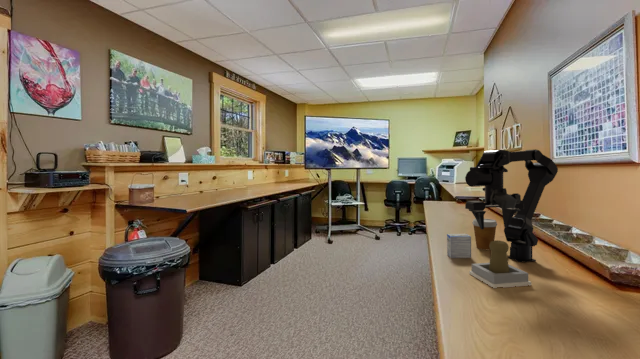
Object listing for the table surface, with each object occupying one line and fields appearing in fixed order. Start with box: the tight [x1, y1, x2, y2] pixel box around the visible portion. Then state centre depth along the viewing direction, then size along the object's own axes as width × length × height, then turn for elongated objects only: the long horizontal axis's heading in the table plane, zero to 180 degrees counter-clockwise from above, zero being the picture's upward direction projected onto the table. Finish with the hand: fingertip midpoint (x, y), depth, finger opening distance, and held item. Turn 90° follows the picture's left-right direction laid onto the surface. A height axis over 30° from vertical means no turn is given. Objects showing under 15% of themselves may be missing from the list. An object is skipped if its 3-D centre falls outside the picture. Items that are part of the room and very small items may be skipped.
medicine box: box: [446, 233, 472, 259], centre depth 119 cm, size 8×4×9 cm, turn 84°
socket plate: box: [468, 262, 532, 289], centre depth 95 cm, size 12×12×4 cm
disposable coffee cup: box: [471, 218, 498, 251], centre depth 129 cm, size 10×10×12 cm
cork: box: [489, 240, 510, 274], centre depth 95 cm, size 6×6×11 cm
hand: (494, 228), depth 108 cm, fingers open, 9 cm apart
